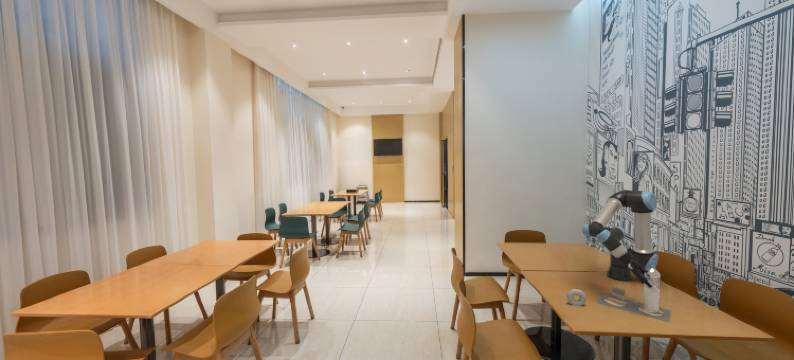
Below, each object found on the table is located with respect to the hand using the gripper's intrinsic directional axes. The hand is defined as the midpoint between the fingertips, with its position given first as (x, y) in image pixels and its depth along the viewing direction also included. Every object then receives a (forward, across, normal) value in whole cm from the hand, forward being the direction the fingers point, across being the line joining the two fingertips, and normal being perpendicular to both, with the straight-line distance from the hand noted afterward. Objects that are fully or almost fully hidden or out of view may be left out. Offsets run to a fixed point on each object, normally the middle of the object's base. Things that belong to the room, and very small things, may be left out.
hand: (657, 289), depth 168 cm
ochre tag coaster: (+7, -2, -11) cm, 13 cm away
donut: (-14, +18, -34) cm, 41 cm away
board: (+3, -1, -17) cm, 18 cm away
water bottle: (+7, 0, -11) cm, 13 cm away
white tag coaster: (-4, -2, -22) cm, 23 cm away
